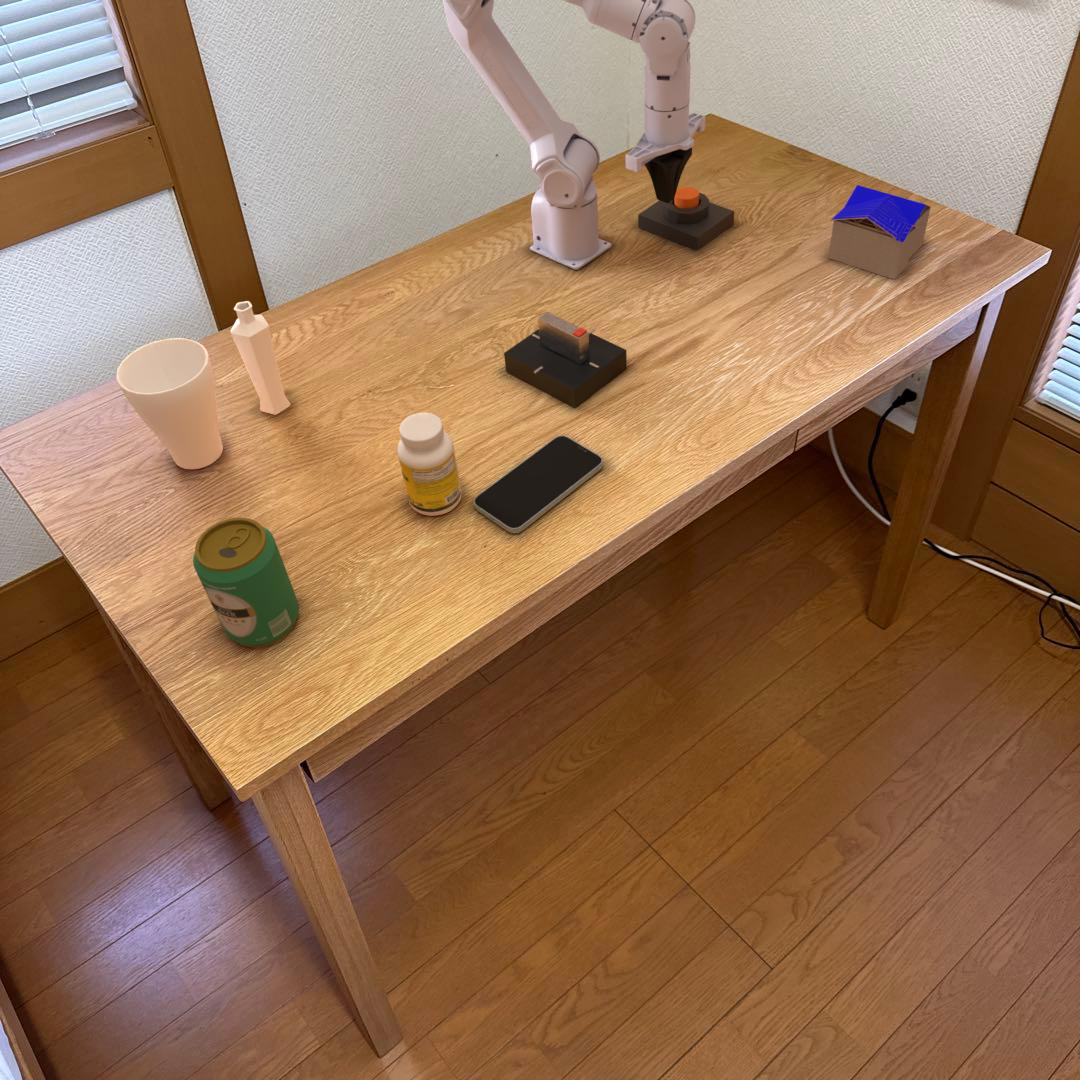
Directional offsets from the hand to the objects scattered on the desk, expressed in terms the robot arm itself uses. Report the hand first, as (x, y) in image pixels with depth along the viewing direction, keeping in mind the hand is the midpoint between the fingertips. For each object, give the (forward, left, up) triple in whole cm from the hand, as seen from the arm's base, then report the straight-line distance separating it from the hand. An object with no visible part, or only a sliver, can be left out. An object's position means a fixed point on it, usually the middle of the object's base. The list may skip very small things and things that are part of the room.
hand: (665, 199), depth 144 cm
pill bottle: (+10, -55, -10) cm, 57 cm away
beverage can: (+9, -79, -10) cm, 80 cm away
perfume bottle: (-19, -56, -10) cm, 60 cm away
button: (-3, +9, -6) cm, 11 cm away
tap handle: (+6, -28, -6) cm, 29 cm away
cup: (-19, -68, -10) cm, 71 cm away
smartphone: (+18, -46, -9) cm, 50 cm away
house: (+23, +19, -10) cm, 31 cm away
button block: (-3, +9, -9) cm, 13 cm away
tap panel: (+6, -28, -9) cm, 30 cm away
